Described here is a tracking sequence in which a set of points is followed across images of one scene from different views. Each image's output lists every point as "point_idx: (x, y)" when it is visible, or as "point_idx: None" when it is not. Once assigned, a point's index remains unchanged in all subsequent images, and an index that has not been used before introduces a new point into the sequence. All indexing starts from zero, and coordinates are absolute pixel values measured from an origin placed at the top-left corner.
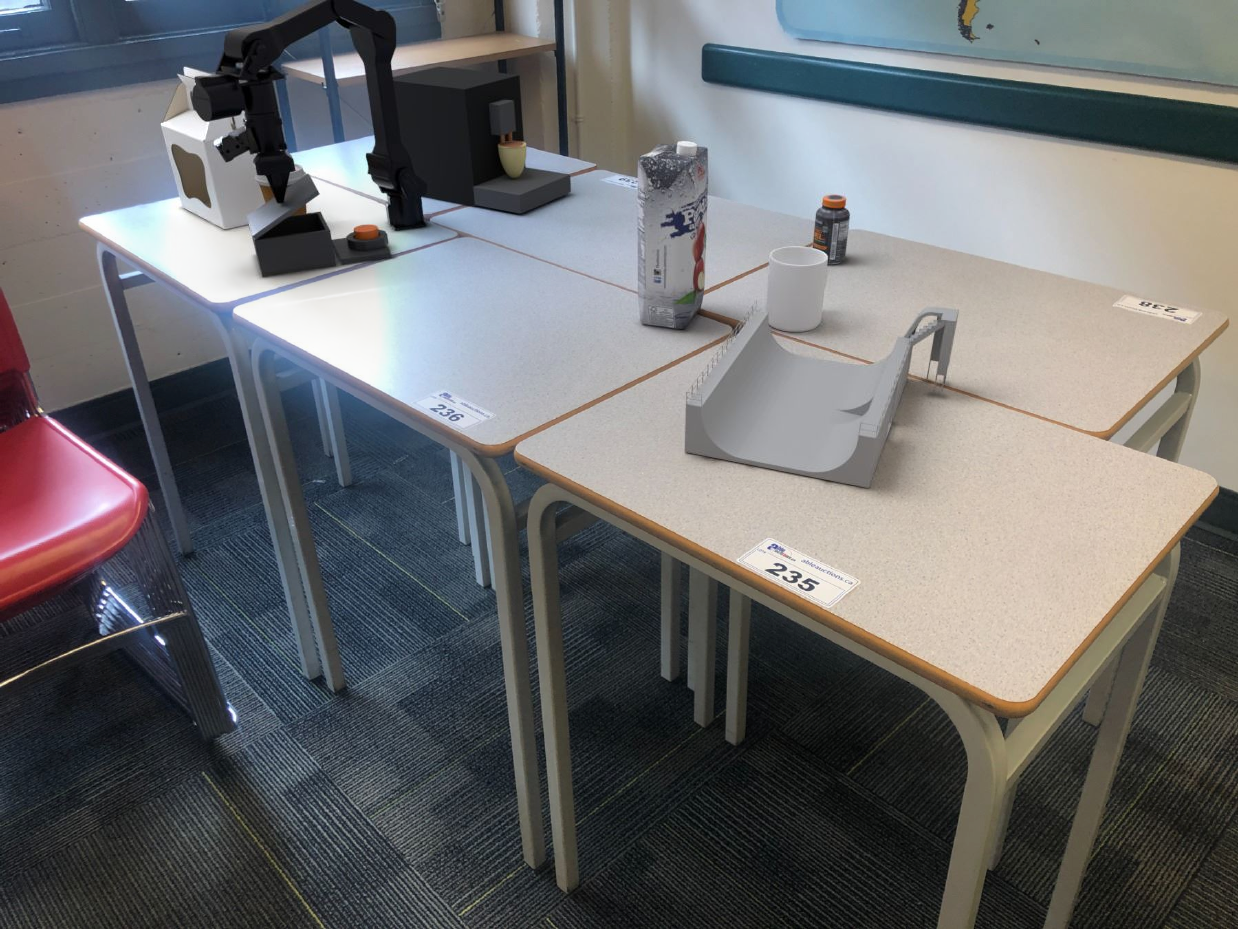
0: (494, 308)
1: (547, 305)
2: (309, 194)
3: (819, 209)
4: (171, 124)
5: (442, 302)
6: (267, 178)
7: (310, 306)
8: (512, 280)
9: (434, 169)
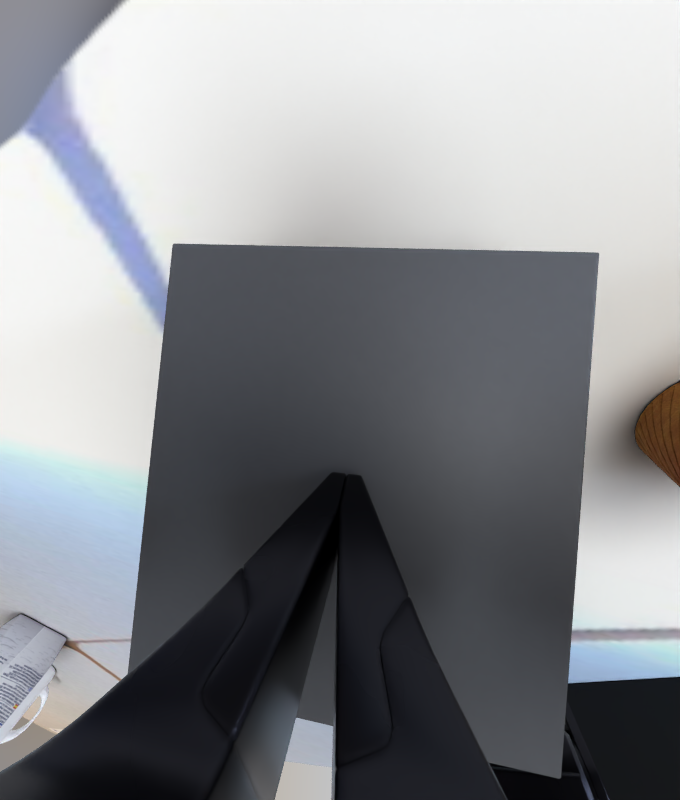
0: (55, 552)
1: (66, 587)
2: (151, 632)
3: None
4: None
5: (74, 519)
6: (110, 692)
7: (50, 342)
8: None
9: (651, 784)
